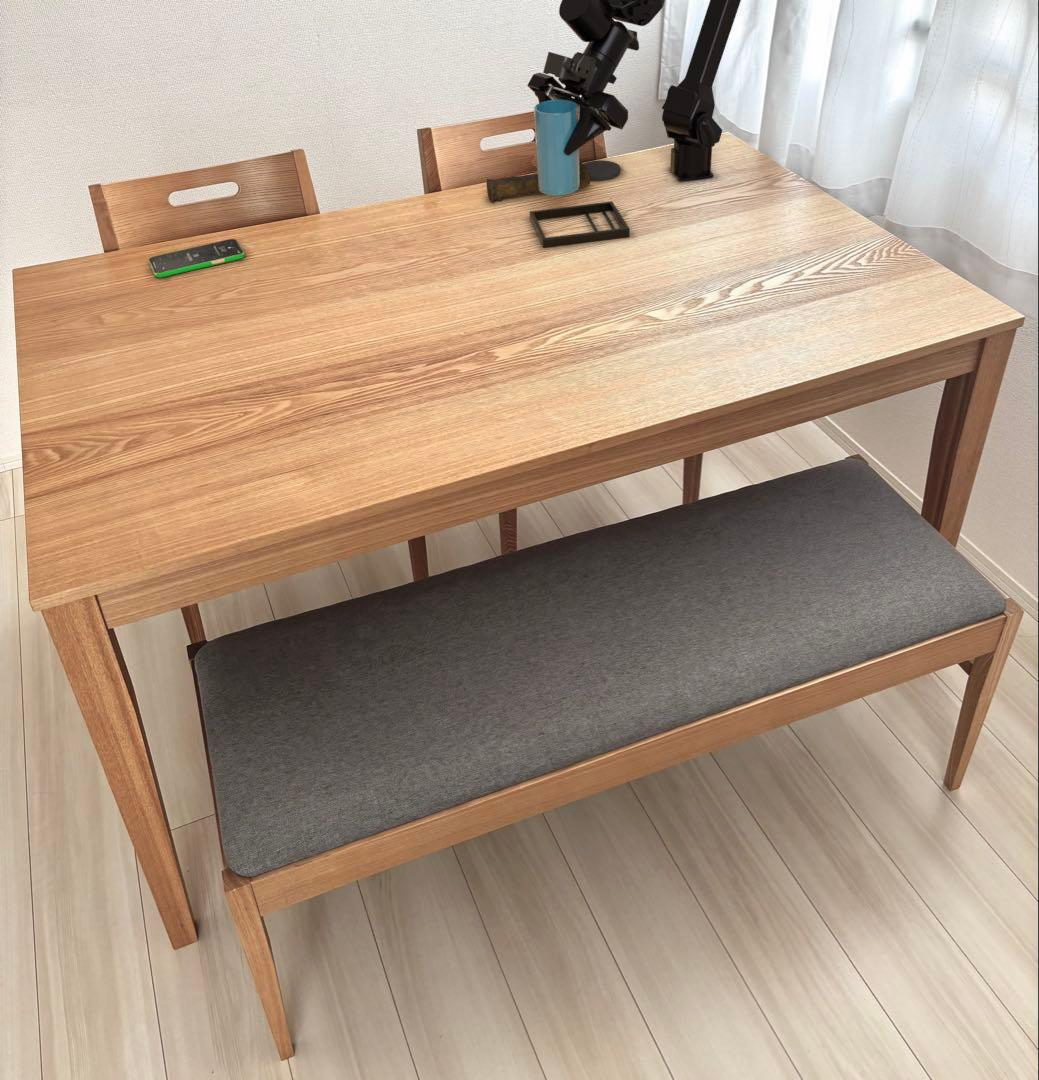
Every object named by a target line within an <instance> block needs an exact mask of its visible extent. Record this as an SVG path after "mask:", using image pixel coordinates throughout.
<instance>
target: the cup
mask: <svg viewBox="0 0 1039 1080" xmlns="http://www.w3.org/2000/svg"><path fill="white" fill-rule="evenodd" d="M533 116H534V138H535V137H536V143H535V156H536V173H537V177H538V189H539V191H540V192H539V193H542V194H544V195H548V196H565V195H566V196H567V195H570V194H573V193H575V192H577V191H578V190H579V189H580V188H579V183H580V175H579V163H580V148H579V149H577V150H576V151H574V152H573V153H572V154H570V155H566V154H565V153H564V149H565V147H566V144H567V142H568V140H569V138H570V136H571V134H572V132H573V130H574V128H575V126H576V124H577V122H578V120H579V106H578V105H577V103H575V102H573V101H569V100H558V99H557V100H548V101H544V102H541V103H539V102H538V103H537V104H535V106H534V107H533Z"/></svg>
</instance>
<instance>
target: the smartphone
mask: <svg viewBox="0 0 1039 1080" xmlns="http://www.w3.org/2000/svg"><path fill="white" fill-rule="evenodd" d="M245 256H246V254H245V252H244V250H243V249H242V247H241V245H240V243H239V242H238V240H237V239H235V238H228V239H224V240H220V241H216V242H215V241H214V242H211V243H208V244H203V245H198V246H193V247H189V248H185V249H180V250H175V251H172V252H171V251H170V252H167V253H163V254H157V255H155V256H152V257H149V259H148V263H149V267H150V268H151V271H152V274H153V275H154V277H155V278H158V279H160V278H166V277H170V276H174V275H178V274H182V273H187V272H192V271H195V270H199V269H205V268H209V267H213V266H218V265H222V264H226V263H230V262H235V261H238V260H242V259H243V258H245Z"/></svg>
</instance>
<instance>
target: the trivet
mask: <svg viewBox="0 0 1039 1080" xmlns="http://www.w3.org/2000/svg"><path fill="white" fill-rule="evenodd" d="M583 164H584V165H585V166H586V167H587V170H588V172H589V173H590V181H591V182H600V181H609V180H612V179H615V178H617V177H619V176H620V175H621V171H622V170H621V169H622V168H621V166H620V164H618V163H617V162H614V161H611V160H604V159H603V160H601V159H600V160H589V161H587V162H583Z"/></svg>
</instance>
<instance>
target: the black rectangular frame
mask: <svg viewBox="0 0 1039 1080" xmlns="http://www.w3.org/2000/svg"><path fill="white" fill-rule="evenodd" d="M607 212H610V214H611V215H612V217H613V218H614V220H615V222H616V223H617V226H618V227H619V228H616V227H615V225H614V224H613V222H612V220H611V219H610V217H609V215H608V214H607ZM596 213H601V214H602V215H603V216H604V218H605V220H606V222H607V223H608V225H609V226H610V228H611V229H604V230H598V228H597V226H596V225H595V222H593V219H592V218H591V216H590V215H591V214H596ZM582 215H585V217H586V219H587V220H588V223H589V224H590V226H591V227H592V229H593V231H589V232H581V233H573V234H564V235H557V236H549V237H546V236H545V234H544V232H543V230H542V228H541V225H540V223H539V221H540V220H550V219H557V218H566V217H573V216H582ZM624 219H625V218H623V215H622V214H621V213H620V211H619V210H618V208H617V206H616V205H615V203H614V202H613V201H604V202H595V203H594V202H593V203H588V204H587V203H586V204H579V205H572V206H571V205H570V206H563V207H555V208H546V209H539V210H532V211H531V210H530V211H529V220H530V223H531V225H532V227H533V229H534V232H535V234H536V236H537V238H538V240H539V242H540V245H541V247H542V249H549V248H555V247H563V246H571V245H577V244H585V243H586V244H587V243H594V242H600V241H610V240H617V239H624V238H630V227H629V225H628V224H627V222H626V221H625V220H624Z"/></svg>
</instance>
